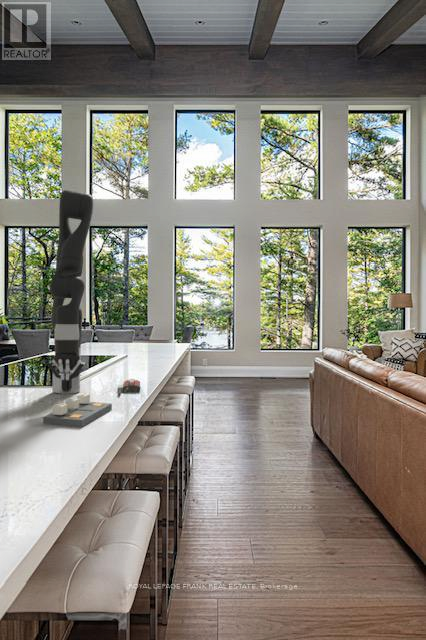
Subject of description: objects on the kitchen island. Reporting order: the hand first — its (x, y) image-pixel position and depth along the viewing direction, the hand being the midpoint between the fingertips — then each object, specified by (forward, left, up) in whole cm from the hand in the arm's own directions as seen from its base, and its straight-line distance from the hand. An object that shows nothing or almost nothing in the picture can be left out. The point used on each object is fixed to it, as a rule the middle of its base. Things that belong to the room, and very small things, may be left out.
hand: (66, 391), depth 137 cm
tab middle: (+6, -7, -3) cm, 10 cm away
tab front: (+6, -14, -3) cm, 15 cm away
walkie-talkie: (+9, +31, -7) cm, 33 cm away
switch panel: (+8, -7, -6) cm, 12 cm away
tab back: (+6, 0, -3) cm, 7 cm away
